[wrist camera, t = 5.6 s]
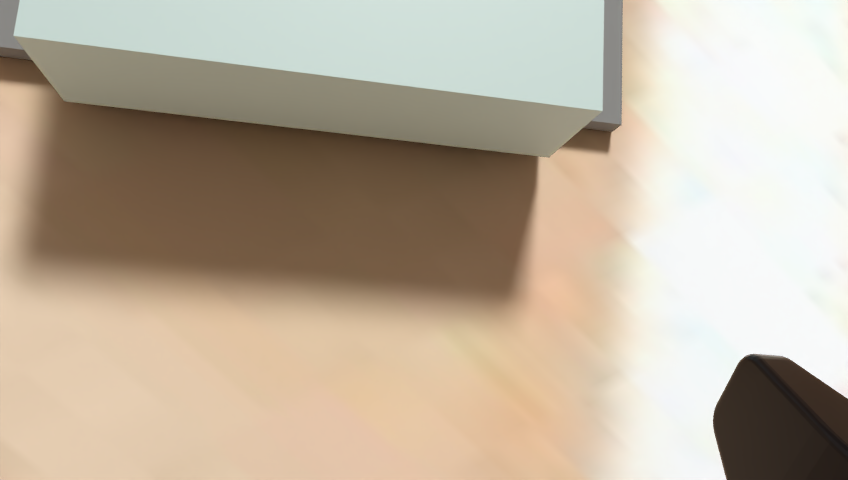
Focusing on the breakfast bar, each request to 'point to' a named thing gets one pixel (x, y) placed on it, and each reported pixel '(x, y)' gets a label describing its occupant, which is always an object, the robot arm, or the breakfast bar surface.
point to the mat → (3, 9)
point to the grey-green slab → (336, 64)
